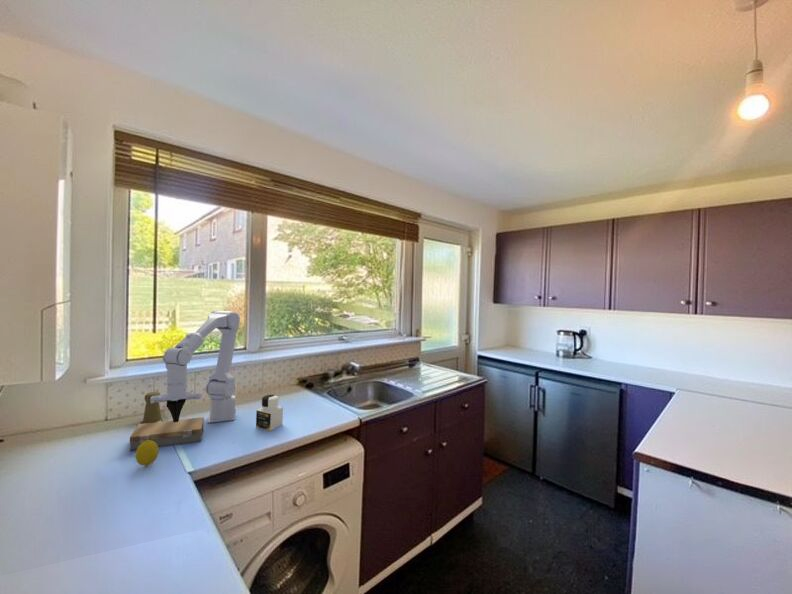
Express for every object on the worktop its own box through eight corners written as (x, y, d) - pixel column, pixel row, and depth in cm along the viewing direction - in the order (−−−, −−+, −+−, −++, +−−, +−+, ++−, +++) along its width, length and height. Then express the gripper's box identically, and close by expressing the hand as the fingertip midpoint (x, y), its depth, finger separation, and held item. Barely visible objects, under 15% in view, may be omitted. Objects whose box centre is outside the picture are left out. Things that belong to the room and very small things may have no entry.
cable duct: (203, 429, 127) (203, 422, 127) (200, 441, 118) (200, 433, 118) (138, 437, 119) (138, 429, 119) (129, 451, 110) (130, 442, 110)
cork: (165, 417, 136) (165, 390, 136) (153, 423, 130) (153, 395, 130) (151, 416, 137) (151, 389, 137) (138, 422, 131) (139, 394, 131)
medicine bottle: (255, 427, 131) (256, 397, 131) (268, 421, 138) (269, 392, 137) (269, 431, 129) (270, 400, 128) (282, 424, 135) (283, 395, 135)
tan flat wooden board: (203, 422, 127) (203, 417, 127) (200, 435, 117) (200, 429, 117) (138, 429, 119) (138, 424, 119) (129, 444, 109) (129, 438, 109)
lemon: (133, 472, 98) (134, 445, 98) (137, 463, 103) (138, 437, 103) (156, 468, 101) (157, 442, 100) (159, 459, 106) (160, 434, 105)
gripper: (148, 387, 110) (147, 428, 110) (199, 384, 116) (198, 423, 116) (153, 381, 116) (152, 420, 117) (202, 378, 122) (201, 415, 123)
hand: (176, 421), depth 117 cm, fingers closed
